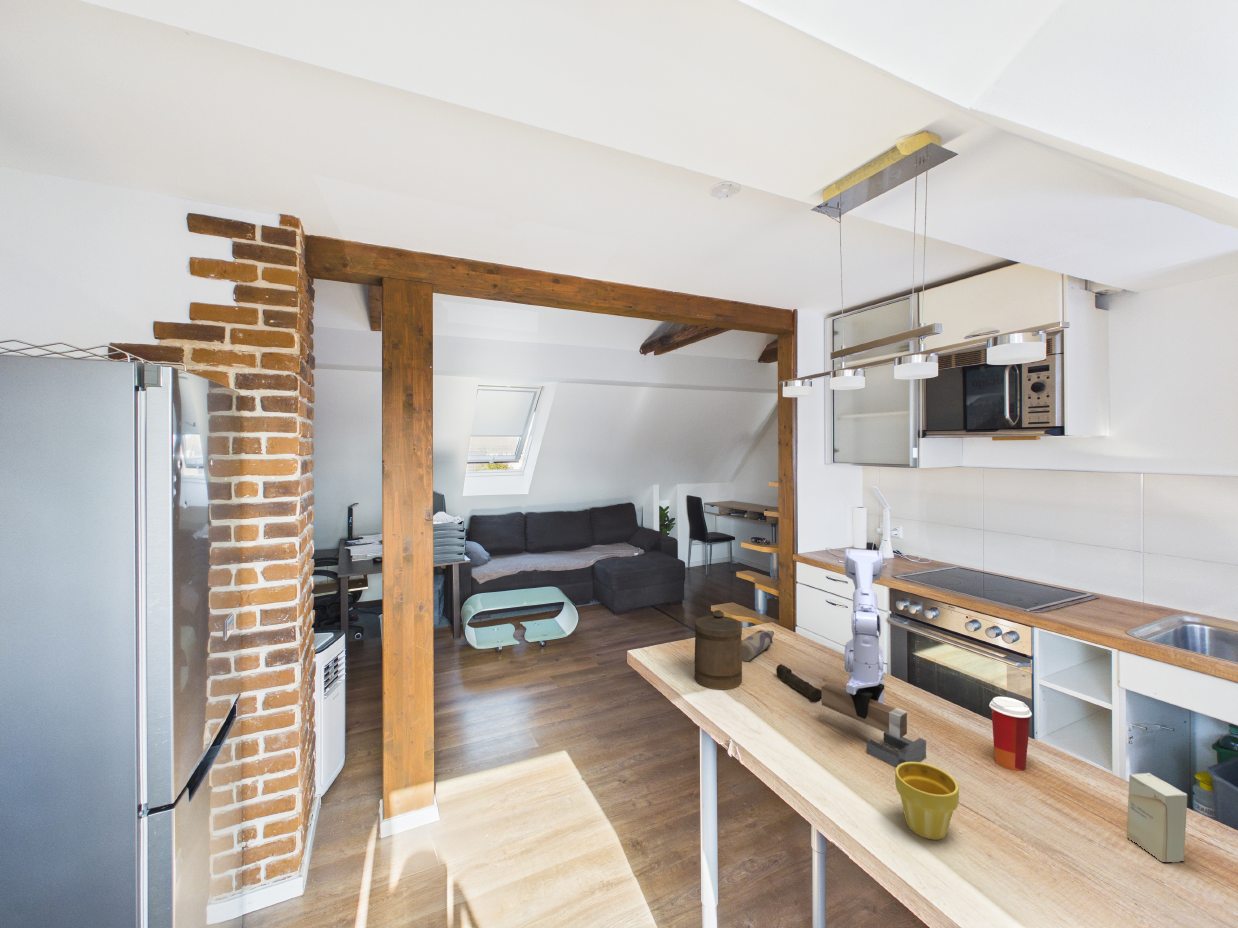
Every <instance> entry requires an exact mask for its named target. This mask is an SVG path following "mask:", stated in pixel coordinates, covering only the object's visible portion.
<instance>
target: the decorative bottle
mask: <svg viewBox="0 0 1238 928" xmlns="http://www.w3.org/2000/svg"><path fill="white" fill-rule="evenodd" d="M774 635H775V632H774V630H764V629H763V630H762V629H761V630H757V631H755V632H753V633H752V634H751V635H749V636H747V637H746V638H744V639H743V640H742V639H741V640H742V662H749V661H752V659H753V658H755V657H756V656H758V655H759V654H761V653H762V652H763V651H765V650H768V649H769V648H770V646H771V645H772V644H773V643H774V642H773V637H774Z"/></svg>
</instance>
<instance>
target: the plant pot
mask: <svg viewBox="0 0 1238 928" xmlns="http://www.w3.org/2000/svg"><path fill="white" fill-rule="evenodd" d="M894 776H895V777H894V778H895V781H894V782H895V789H896V791H897V793H898V795H899V796H900V799H901V805H902V808H903V809H902V810H903V812H904V817H905V818H904V819H905V822H906V825H907V826H908V828H909V829H910V830H911V831H912V832H914V833H915V834H917V835H918V836H920V837H922V838H924V839H928V840H934V841H935V840H938V841H939V840H942V839H944V838H945V837H946V836H947V834H948V831H949V827H950V825H951V824H950V823H951V820H952V816H953V813H954V812H955V810H956V809H957V808H958V806H959V800H960V799H959V798H960V786H959V784H958V782H957V780H956V779H955V778H954V777H953V776H952V775H951V774H950V773H948V772H946V771H945V770H943V769H941V768H939V767H937V766H935V765H932V764H929V763H924V762H921V761H920V762H905V763H901V764H899V765H898V766H897V767H895V771H894Z"/></svg>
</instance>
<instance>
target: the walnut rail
mask: <svg viewBox="0 0 1238 928" xmlns="http://www.w3.org/2000/svg"><path fill="white" fill-rule="evenodd" d="M821 690H822V699H821V706H823V707H825V708H828V709H830V710H833V711H835V712H837V713H839V714H841V715H843V716H846V717H848V718H851V719H852V720H856V721H857V722H860V723H862V724H865V725H867V726H869V727H872V728H874V729H876V730H879V731H881V732H883V733H884V732H885V733H888V734H890V735H892V736H895V737H897V738H899V739H900V738H901V737H905V736H906V735H907V734H908V712H907V711H906V710H903V709H901V708H898V707H893V706H892V705H891V706H890V705H888V704H887V705H885V704H886V703H885V704H883V703H880V702H878V701H875V700H873V699H870V701H869V705H868V712H867V717H866V718H865V719H863V718H861V717H859V716H857V714H856V710H855V706H854V703H853V700H852V698H851V696H850V694H849V693H848V692H846V688H843V687H841V686H838V685H835V683H834V684H833V683H831V682H828V683H826V684H823V685H821Z"/></svg>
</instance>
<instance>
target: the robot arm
mask: <svg viewBox="0 0 1238 928" xmlns="http://www.w3.org/2000/svg"><path fill="white" fill-rule="evenodd" d="M883 558H884V557H883V552H882V551H881V550H875V549H874V550H872V549H858V548H857V549H854V548H853V549H852V548H848V547H847V548H845V549H844V571H845V573H844V574H845V576H846V578H848V579H850V580H852V582H853V585H854V591H853V592H852V610H853V611H852V612H851V634H852V639H850V640H848V641H847V642H846V643H845V645H844V670H845V672H846V673H848V676H849V677H848V678H849V679H848V680H849V681H848V683H846V687H845V689H846V692H848V693H849V694H850V696H851V698H852V700H853V703H854V706H855V710H856V714H857V716H859V717H861V718H863V719H865V718H866V717H867V712H868V705H869V701H870V699H873V700H875V701H878V702H880V703H883V704H885V705H888V704H887V703H885V701H884V700H885V698H884V697H885V694H884V693H885V683H884V680H885V671H884V658H883V649H882V648H881V646H880V638H881V635H882V634H881V633H882V617H881V613H880V610H879V608H878V607H879V606H878V595H877V593H876V592H875V590H873V583H874V582H875V581H878V580H880V579H881V577H882V572H883V570H884V569H883V566H884V565H883V563H884V562H883Z"/></svg>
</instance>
